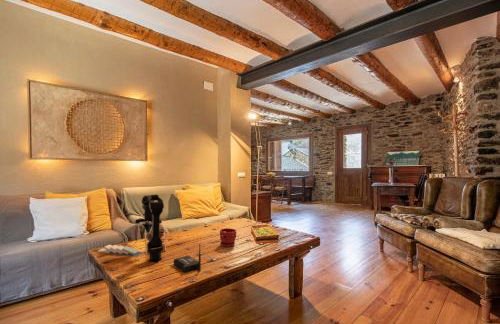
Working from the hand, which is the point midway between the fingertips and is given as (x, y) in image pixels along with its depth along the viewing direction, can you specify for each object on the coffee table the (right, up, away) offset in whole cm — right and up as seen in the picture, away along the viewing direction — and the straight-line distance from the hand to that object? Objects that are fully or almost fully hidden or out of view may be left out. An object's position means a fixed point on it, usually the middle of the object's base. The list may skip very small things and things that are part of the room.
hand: (148, 232), depth 187 cm
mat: (-14, -13, -7) cm, 20 cm away
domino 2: (-15, -12, -7) cm, 20 cm away
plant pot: (+58, -14, +13) cm, 61 cm away
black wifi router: (+37, -14, -30) cm, 50 cm away
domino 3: (-10, -12, -8) cm, 17 cm away
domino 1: (-20, -12, -6) cm, 23 cm away
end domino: (-24, -12, -5) cm, 27 cm away
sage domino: (-5, -12, -9) cm, 16 cm away
